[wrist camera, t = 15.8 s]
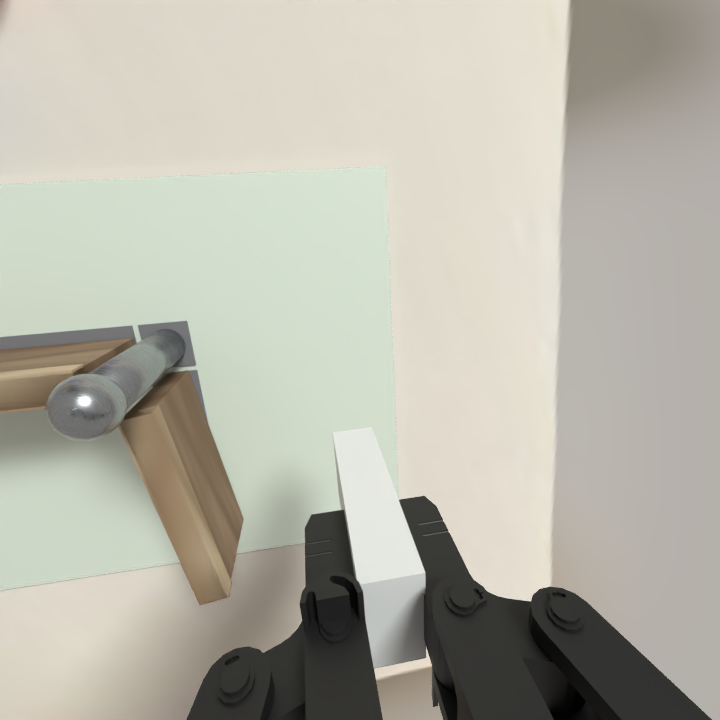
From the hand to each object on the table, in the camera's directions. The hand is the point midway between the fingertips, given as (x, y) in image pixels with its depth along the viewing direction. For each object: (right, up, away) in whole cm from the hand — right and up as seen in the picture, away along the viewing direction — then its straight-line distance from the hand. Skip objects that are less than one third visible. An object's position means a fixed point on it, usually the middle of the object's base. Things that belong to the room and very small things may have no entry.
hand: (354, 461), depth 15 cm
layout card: (-12, +2, +6) cm, 13 cm away
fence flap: (-9, -1, +7) cm, 11 cm away
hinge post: (-10, +5, +6) cm, 12 cm away
